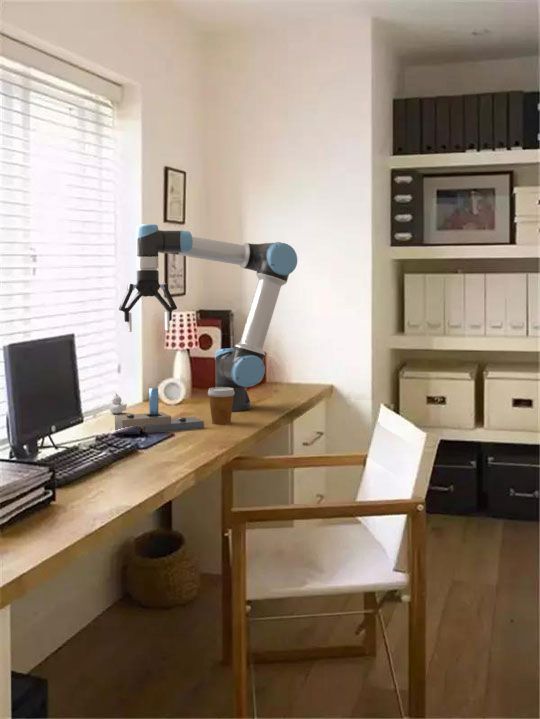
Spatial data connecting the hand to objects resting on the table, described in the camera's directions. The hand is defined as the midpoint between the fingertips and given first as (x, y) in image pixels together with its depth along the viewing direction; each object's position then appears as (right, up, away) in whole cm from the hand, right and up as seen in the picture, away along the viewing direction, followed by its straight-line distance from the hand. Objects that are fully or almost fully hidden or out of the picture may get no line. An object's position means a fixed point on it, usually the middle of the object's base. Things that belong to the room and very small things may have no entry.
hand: (148, 330), depth 304 cm
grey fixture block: (+6, -33, -13) cm, 36 cm away
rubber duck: (-14, -30, +18) cm, 38 cm away
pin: (+4, -33, -13) cm, 36 cm away
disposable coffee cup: (+25, -32, -1) cm, 41 cm away
